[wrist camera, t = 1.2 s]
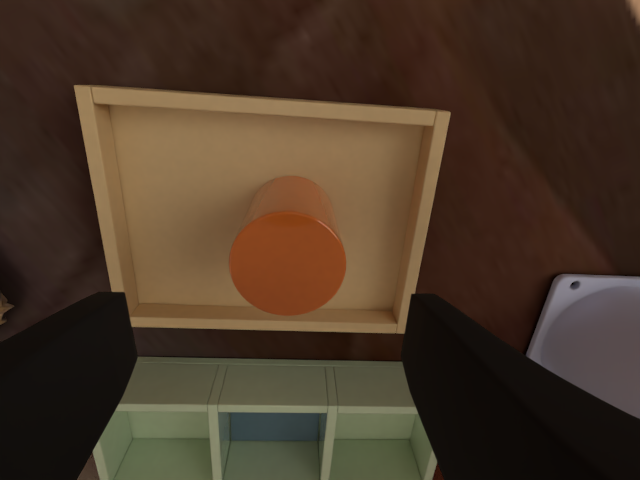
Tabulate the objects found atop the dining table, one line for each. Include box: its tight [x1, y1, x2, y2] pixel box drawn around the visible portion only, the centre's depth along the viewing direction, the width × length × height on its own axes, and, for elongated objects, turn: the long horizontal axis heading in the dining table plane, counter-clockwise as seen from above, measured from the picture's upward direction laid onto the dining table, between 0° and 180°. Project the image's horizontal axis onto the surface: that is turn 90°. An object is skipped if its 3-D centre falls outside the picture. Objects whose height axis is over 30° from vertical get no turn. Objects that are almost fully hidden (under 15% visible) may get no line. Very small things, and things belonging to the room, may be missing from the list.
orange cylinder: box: [229, 176, 346, 316], centre depth 15 cm, size 4×4×5 cm
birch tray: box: [74, 85, 451, 334], centre depth 16 cm, size 14×11×2 cm
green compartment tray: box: [92, 357, 437, 480], centre depth 20 cm, size 18×6×3 cm, turn 86°
